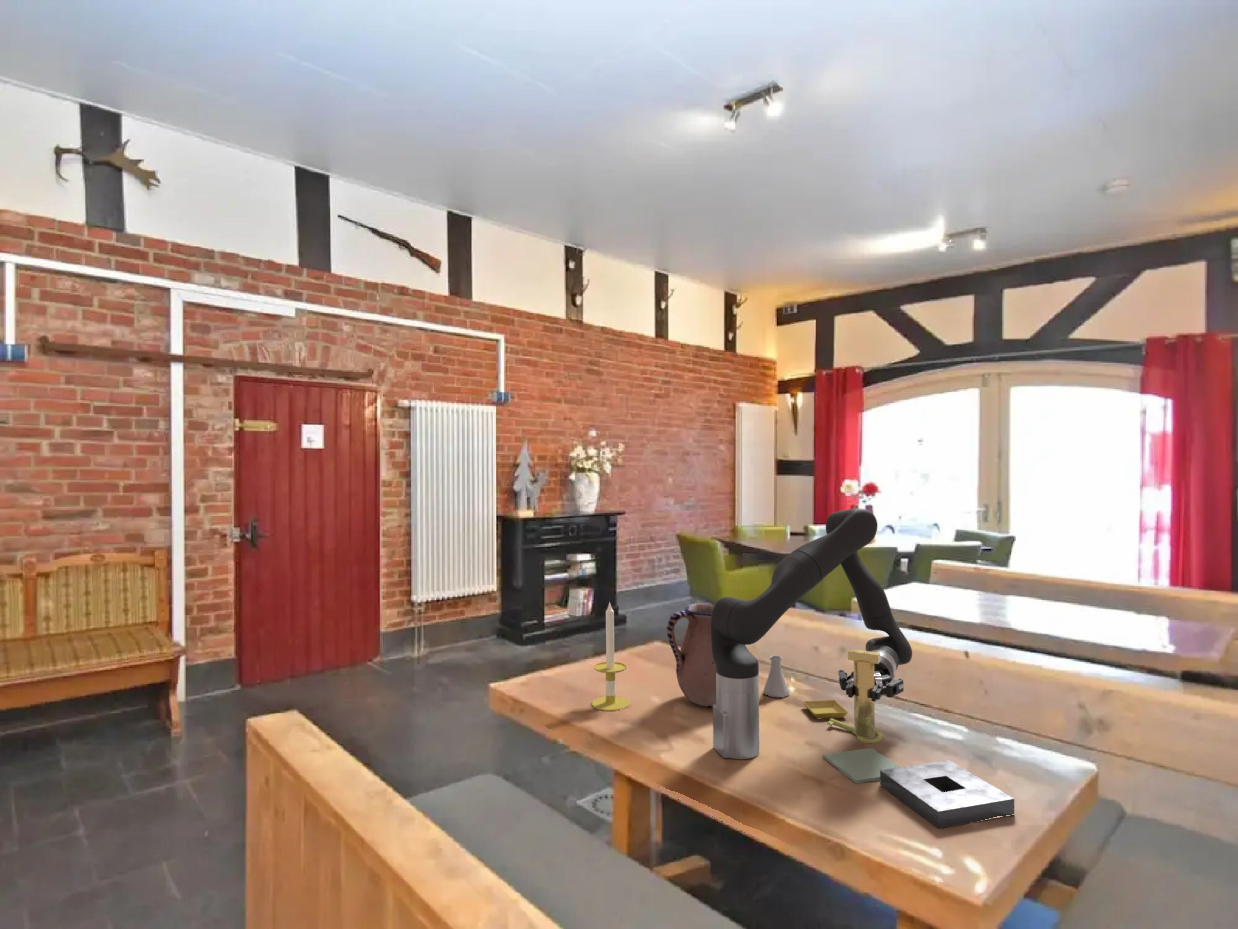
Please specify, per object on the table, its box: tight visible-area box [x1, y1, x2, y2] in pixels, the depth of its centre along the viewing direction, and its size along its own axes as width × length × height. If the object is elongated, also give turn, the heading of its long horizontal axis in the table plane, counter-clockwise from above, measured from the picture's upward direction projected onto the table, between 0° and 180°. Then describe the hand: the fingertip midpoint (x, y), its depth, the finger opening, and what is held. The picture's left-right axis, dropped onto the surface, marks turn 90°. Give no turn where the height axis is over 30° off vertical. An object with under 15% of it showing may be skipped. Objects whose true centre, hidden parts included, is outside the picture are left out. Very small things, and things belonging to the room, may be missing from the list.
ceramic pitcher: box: [666, 601, 716, 707], centre depth 177 cm, size 18×21×25 cm
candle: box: [591, 601, 631, 712], centre depth 177 cm, size 10×10×27 cm
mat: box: [822, 747, 900, 784], centre depth 141 cm, size 12×12×1 cm
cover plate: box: [879, 759, 1015, 830], centre depth 127 cm, size 16×16×3 cm
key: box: [826, 718, 883, 744], centre depth 157 cm, size 7×12×2 cm, turn 64°
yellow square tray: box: [802, 699, 849, 719], centre depth 170 cm, size 9×9×2 cm
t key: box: [847, 648, 880, 739], centre depth 141 cm, size 6×4×17 cm, turn 60°
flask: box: [762, 655, 790, 699], centre depth 184 cm, size 7×7×10 cm
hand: (861, 694), depth 138 cm, fingers closed on t key, 4 cm apart
